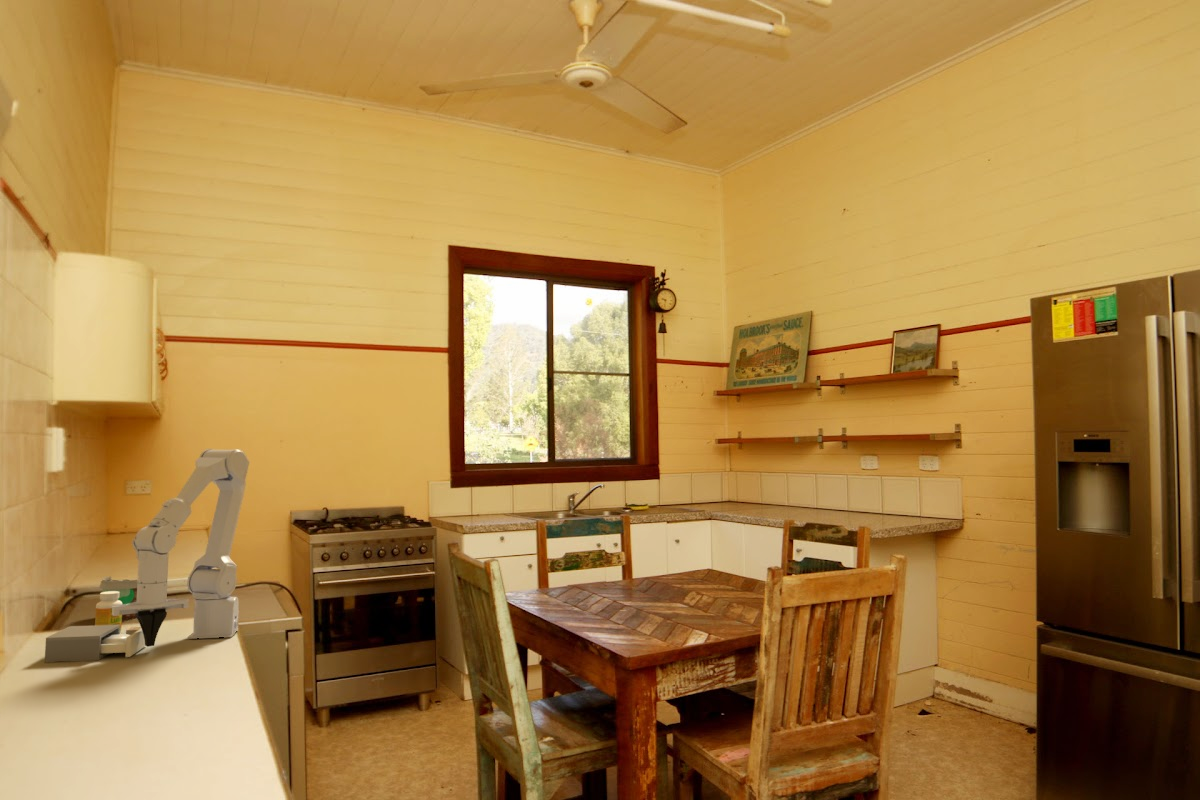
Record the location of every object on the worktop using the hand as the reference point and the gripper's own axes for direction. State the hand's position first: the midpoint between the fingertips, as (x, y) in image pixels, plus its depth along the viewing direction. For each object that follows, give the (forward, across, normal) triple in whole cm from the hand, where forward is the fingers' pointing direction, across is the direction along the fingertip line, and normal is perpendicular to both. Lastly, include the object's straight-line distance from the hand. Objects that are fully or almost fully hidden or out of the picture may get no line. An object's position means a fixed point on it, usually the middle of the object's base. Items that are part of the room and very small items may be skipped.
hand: (149, 645), depth 172 cm
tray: (+1, +6, -4) cm, 7 cm away
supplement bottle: (+2, +3, -26) cm, 26 cm away
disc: (0, +6, -3) cm, 7 cm away
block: (+1, +1, -10) cm, 10 cm away
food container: (+2, -2, -44) cm, 45 cm away
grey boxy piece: (+1, +11, -6) cm, 13 cm away
